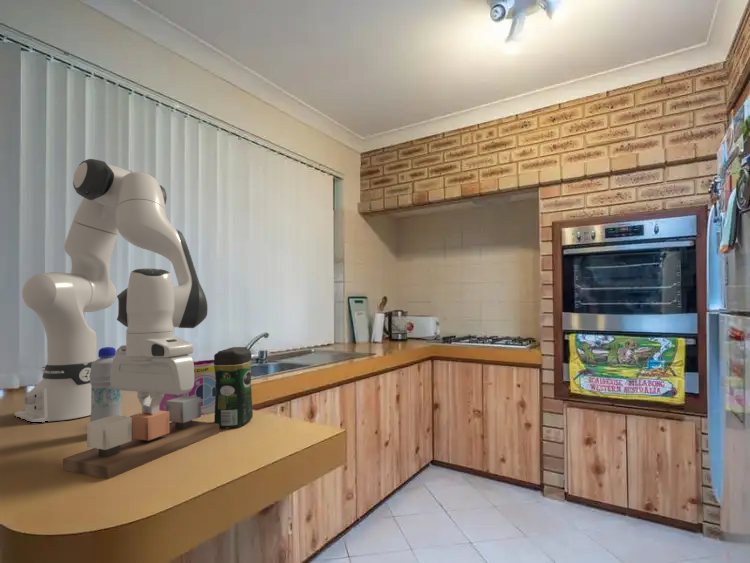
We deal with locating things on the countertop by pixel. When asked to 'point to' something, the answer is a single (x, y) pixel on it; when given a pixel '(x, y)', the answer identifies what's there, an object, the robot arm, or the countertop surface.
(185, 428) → the button board
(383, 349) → the countertop surface
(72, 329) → the robot arm
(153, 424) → the terracotta button
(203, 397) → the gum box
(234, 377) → the coffee jar
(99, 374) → the bottle
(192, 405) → the slate-grey button
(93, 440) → the cream button
